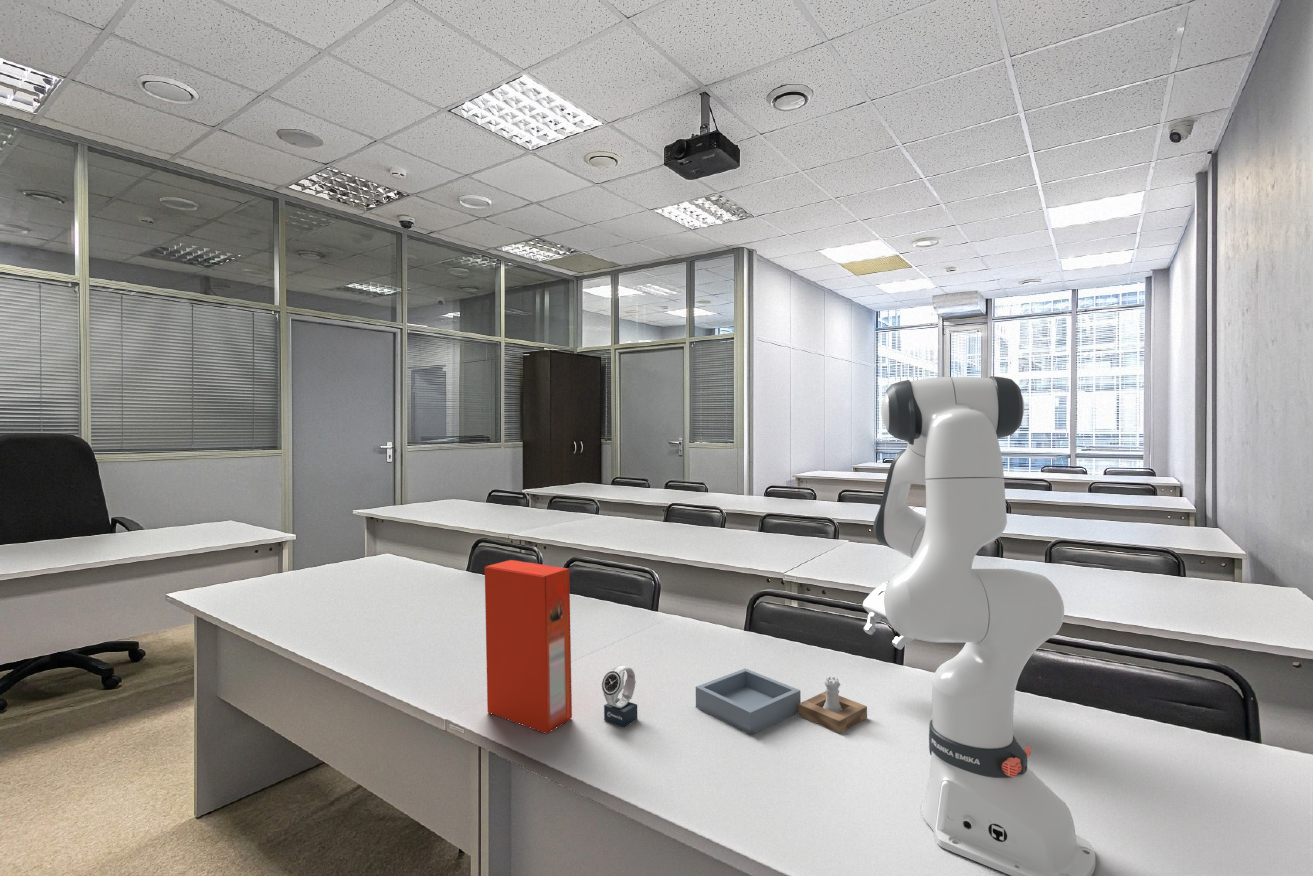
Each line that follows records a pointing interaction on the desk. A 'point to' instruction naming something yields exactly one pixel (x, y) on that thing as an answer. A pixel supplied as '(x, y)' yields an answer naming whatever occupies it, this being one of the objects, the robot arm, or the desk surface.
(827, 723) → the socket block
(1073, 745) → the desk surface
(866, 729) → the desk surface
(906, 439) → the robot arm
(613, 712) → the watch
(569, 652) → the file binder
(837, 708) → the rook chess piece
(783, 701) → the tray
